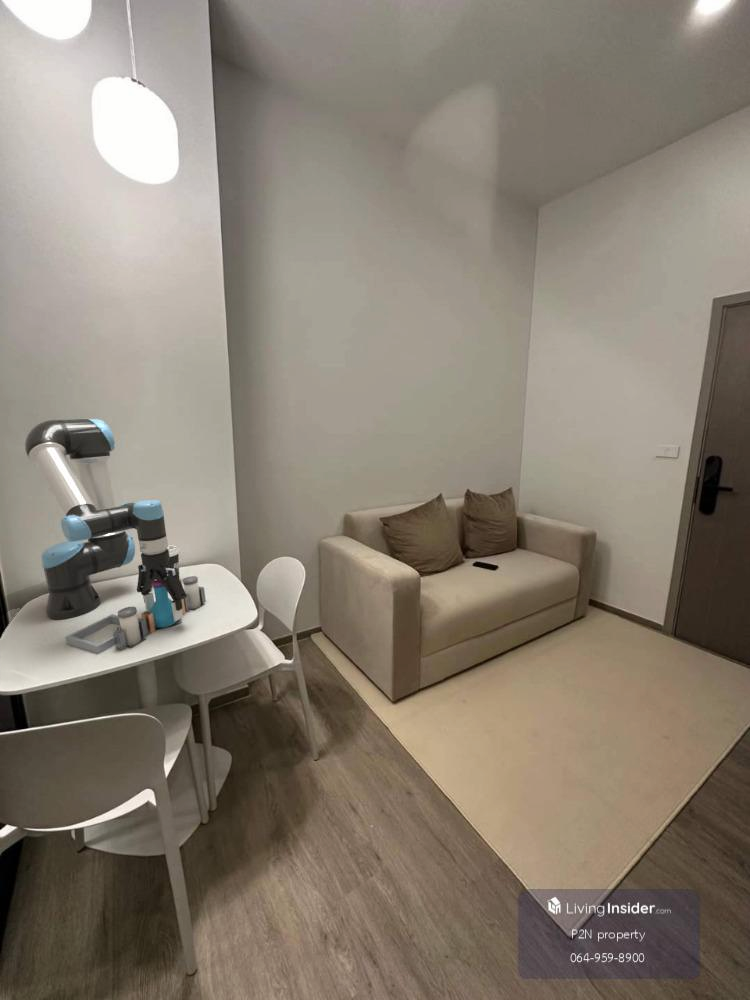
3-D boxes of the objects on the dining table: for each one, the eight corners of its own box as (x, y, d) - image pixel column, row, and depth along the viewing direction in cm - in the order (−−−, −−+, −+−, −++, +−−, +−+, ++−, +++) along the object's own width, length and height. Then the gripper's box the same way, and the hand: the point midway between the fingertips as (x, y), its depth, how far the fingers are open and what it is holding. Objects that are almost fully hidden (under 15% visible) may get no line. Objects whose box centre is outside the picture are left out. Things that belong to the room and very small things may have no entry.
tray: (67, 646, 116) (65, 637, 116) (113, 622, 129) (111, 614, 128) (99, 656, 111) (97, 646, 111) (144, 630, 124) (142, 621, 123)
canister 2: (183, 607, 136) (179, 580, 134) (194, 601, 140) (190, 575, 138) (193, 610, 134) (190, 582, 132) (204, 603, 139) (200, 577, 136)
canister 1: (119, 644, 115) (113, 612, 113) (134, 636, 120) (128, 605, 117) (130, 647, 114) (125, 615, 111) (145, 638, 118) (140, 608, 116)
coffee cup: (176, 589, 152) (171, 552, 149) (151, 590, 152) (145, 553, 149) (188, 579, 161) (183, 544, 158) (165, 579, 161) (159, 544, 158)
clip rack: (112, 650, 114) (108, 628, 112) (197, 601, 142) (194, 583, 141) (126, 654, 112) (122, 631, 110) (209, 603, 140) (207, 585, 139)
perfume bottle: (188, 620, 129) (182, 577, 126) (163, 635, 121) (156, 589, 118) (168, 615, 133) (162, 573, 130) (143, 628, 125) (135, 584, 122)
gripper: (116, 550, 123) (127, 615, 127) (173, 559, 114) (182, 628, 119) (138, 543, 129) (148, 604, 134) (193, 550, 121) (202, 616, 126)
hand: (164, 615), depth 126 cm, fingers open, 11 cm apart
